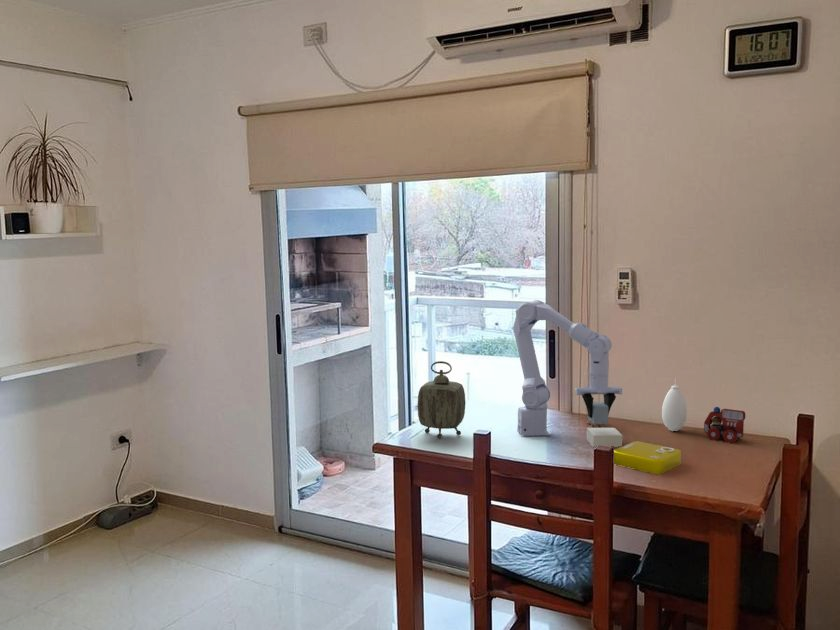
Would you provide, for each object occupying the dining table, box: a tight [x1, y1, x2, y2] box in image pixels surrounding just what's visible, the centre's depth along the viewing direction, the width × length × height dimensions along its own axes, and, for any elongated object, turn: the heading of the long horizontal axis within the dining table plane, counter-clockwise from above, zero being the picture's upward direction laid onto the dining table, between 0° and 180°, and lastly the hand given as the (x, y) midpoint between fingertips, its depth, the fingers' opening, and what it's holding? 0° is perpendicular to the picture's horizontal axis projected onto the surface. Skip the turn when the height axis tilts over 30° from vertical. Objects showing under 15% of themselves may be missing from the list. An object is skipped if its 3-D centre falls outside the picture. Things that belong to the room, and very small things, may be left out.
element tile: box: [613, 440, 682, 475], centre depth 211 cm, size 15×15×5 cm
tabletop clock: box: [416, 360, 466, 439], centre depth 238 cm, size 14×9×25 cm, turn 75°
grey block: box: [587, 401, 609, 425], centre depth 230 cm, size 4×6×6 cm
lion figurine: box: [586, 417, 603, 428], centre depth 252 cm, size 15×5×9 cm, turn 7°
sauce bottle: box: [661, 377, 688, 432], centre depth 245 cm, size 8×8×18 cm
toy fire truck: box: [703, 406, 746, 444], centre depth 235 cm, size 7×12×10 cm, turn 49°
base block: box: [586, 427, 623, 448], centre depth 232 cm, size 9×9×4 cm
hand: (598, 416), depth 231 cm, fingers closed on grey block, 4 cm apart
